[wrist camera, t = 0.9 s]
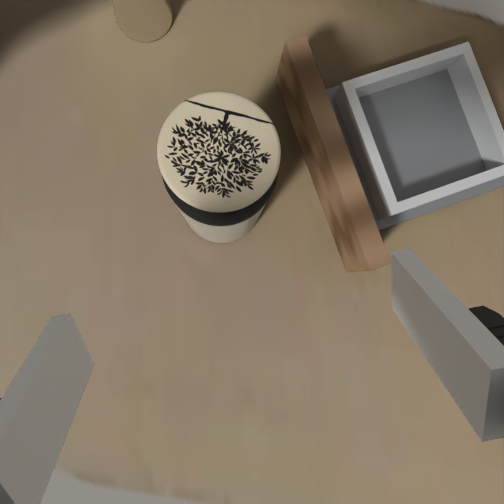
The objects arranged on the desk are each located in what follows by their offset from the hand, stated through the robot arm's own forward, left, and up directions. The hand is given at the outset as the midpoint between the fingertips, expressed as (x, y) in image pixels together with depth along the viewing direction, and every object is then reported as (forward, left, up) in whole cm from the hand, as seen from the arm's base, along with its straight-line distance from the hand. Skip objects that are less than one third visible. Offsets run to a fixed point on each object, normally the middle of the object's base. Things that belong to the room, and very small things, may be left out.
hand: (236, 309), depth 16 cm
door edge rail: (-9, +13, -25) cm, 30 cm away
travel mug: (-9, +2, -25) cm, 27 cm away
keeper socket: (-9, +24, -25) cm, 36 cm away
